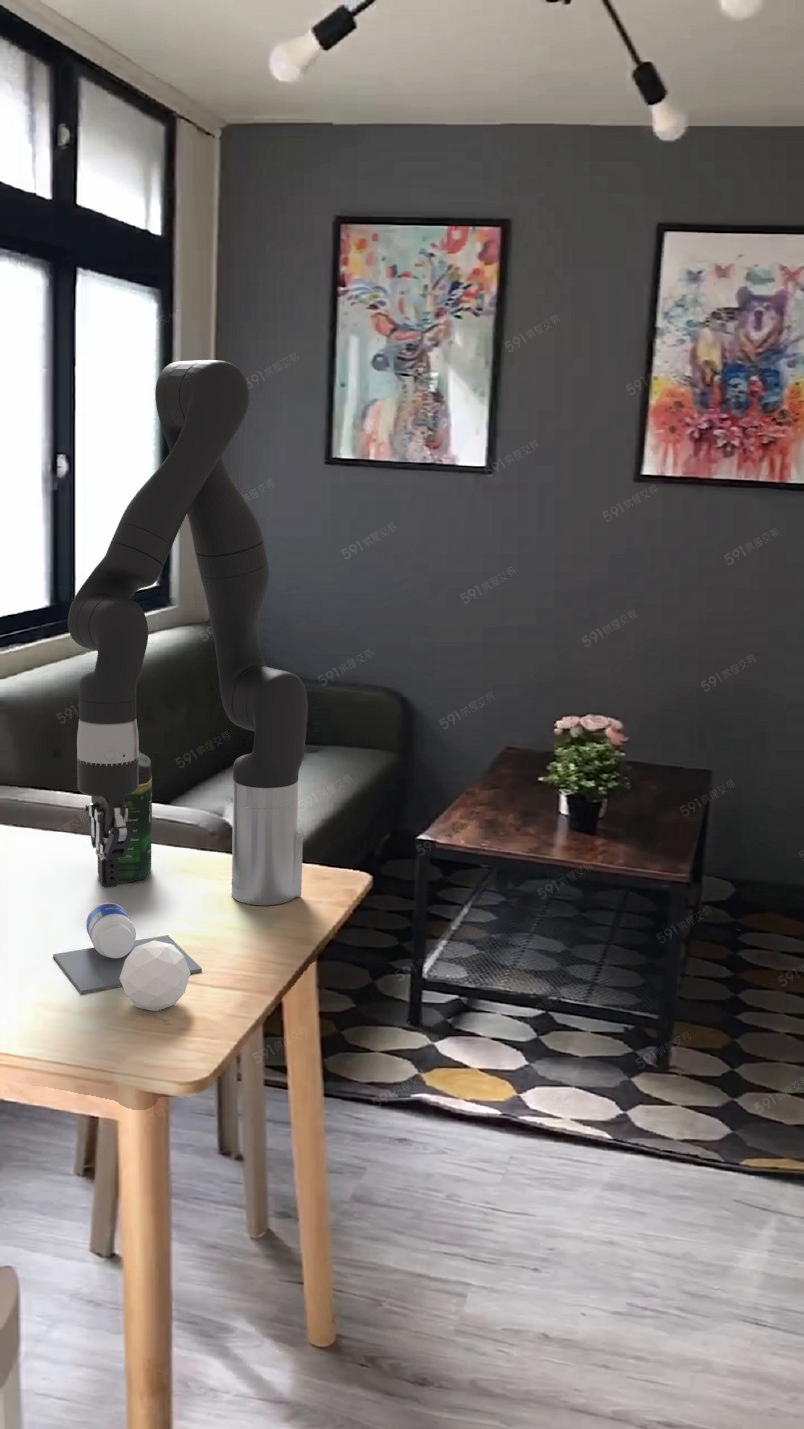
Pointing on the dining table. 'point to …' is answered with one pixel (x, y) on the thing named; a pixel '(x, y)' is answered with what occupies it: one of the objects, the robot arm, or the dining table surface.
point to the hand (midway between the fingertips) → (108, 885)
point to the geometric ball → (155, 975)
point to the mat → (105, 966)
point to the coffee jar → (138, 827)
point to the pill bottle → (111, 930)
